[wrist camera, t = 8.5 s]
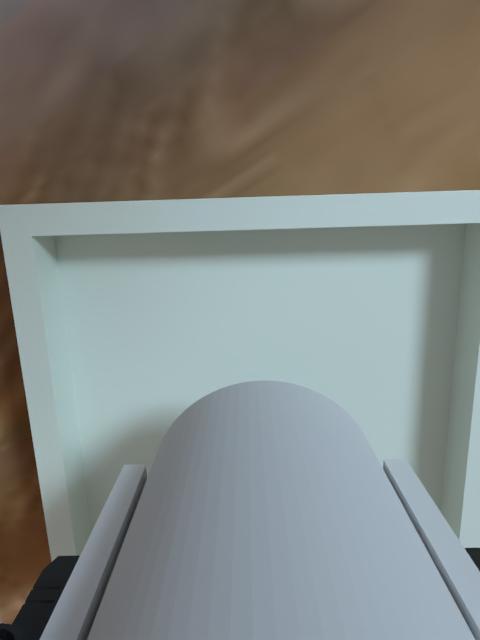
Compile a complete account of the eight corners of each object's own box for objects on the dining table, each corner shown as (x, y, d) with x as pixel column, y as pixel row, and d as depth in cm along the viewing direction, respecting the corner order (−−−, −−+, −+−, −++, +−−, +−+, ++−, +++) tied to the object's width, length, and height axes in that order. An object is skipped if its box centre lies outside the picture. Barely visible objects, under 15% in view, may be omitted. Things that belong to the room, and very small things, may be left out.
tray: (33, 206, 20) (-4, 205, 17) (485, 192, 19) (528, 188, 16) (83, 578, 25) (61, 627, 22) (448, 574, 24) (475, 623, 21)
